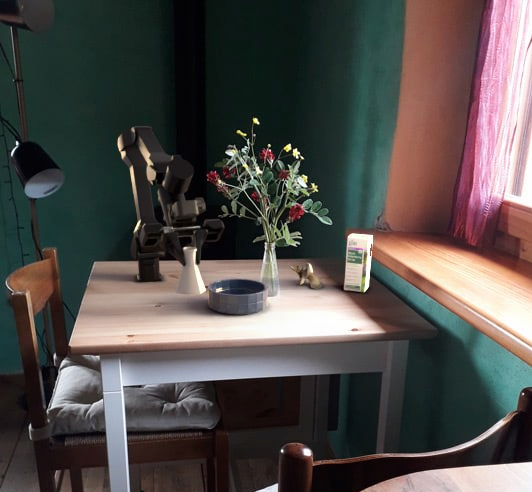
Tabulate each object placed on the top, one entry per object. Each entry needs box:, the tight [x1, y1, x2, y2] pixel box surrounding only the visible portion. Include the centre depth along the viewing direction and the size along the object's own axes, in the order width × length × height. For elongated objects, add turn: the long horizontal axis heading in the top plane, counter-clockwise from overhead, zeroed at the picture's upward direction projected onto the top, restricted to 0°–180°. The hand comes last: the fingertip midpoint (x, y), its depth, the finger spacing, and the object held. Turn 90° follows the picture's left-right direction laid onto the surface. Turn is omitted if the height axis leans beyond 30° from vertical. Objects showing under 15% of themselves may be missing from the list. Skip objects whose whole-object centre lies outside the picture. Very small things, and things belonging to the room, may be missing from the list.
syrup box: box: [343, 233, 374, 293], centre depth 163 cm, size 6×6×14 cm
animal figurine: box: [289, 262, 323, 290], centre depth 168 cm, size 8×7×9 cm
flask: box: [174, 246, 207, 296], centre depth 139 cm, size 7×7×10 cm
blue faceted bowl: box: [207, 278, 269, 316], centre depth 149 cm, size 14×14×5 cm
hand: (191, 264), depth 138 cm, fingers closed on flask, 3 cm apart
